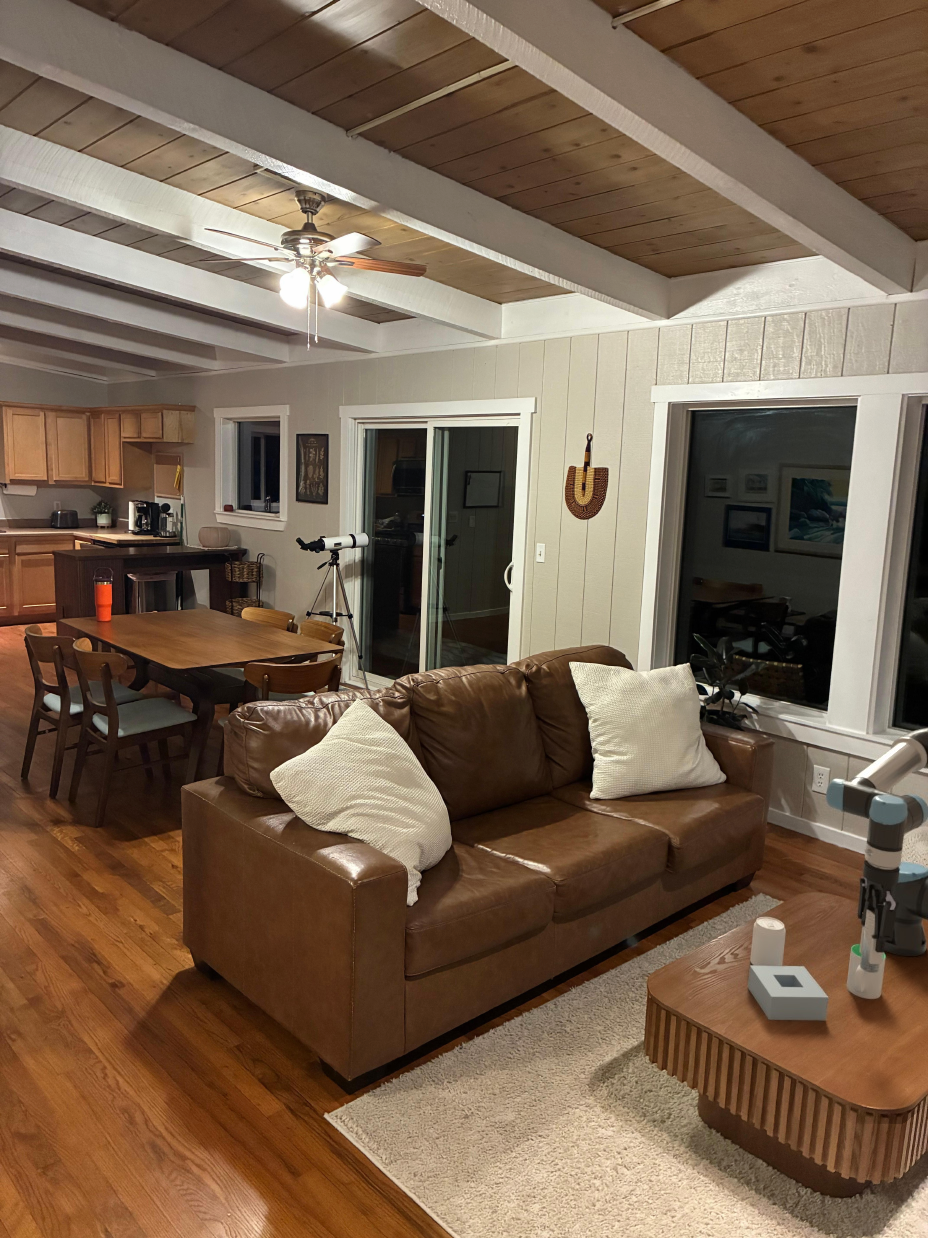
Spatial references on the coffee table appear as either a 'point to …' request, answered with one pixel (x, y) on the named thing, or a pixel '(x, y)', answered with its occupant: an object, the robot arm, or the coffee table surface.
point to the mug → (864, 977)
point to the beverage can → (768, 942)
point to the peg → (868, 942)
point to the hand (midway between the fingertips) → (870, 957)
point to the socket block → (787, 993)
